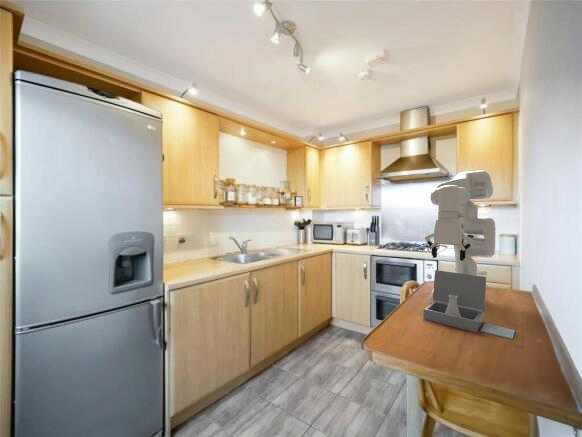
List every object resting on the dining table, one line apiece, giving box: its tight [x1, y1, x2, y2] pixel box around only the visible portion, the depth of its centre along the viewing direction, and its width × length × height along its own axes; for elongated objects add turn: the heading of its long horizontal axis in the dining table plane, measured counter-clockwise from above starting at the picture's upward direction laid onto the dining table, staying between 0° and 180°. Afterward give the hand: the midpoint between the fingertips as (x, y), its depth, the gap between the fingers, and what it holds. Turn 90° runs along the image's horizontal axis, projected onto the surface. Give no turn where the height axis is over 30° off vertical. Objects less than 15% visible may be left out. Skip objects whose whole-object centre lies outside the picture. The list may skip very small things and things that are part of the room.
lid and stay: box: [427, 269, 487, 313], centre depth 112 cm, size 9×19×15 cm, turn 46°
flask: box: [445, 295, 461, 317], centre depth 107 cm, size 7×7×10 cm
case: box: [423, 300, 484, 333], centre depth 108 cm, size 15×18×5 cm
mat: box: [480, 323, 516, 340], centre depth 97 cm, size 9×9×1 cm
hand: (447, 258), depth 106 cm, fingers open, 9 cm apart
